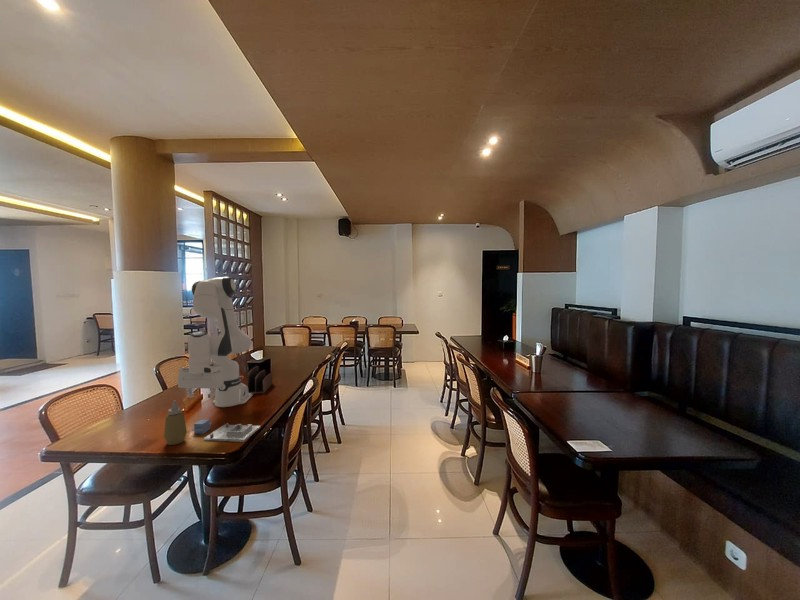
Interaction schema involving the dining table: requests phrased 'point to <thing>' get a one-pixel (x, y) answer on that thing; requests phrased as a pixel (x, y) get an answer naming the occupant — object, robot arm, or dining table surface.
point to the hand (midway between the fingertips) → (201, 397)
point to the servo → (201, 426)
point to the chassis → (232, 433)
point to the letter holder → (258, 381)
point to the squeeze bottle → (175, 425)
